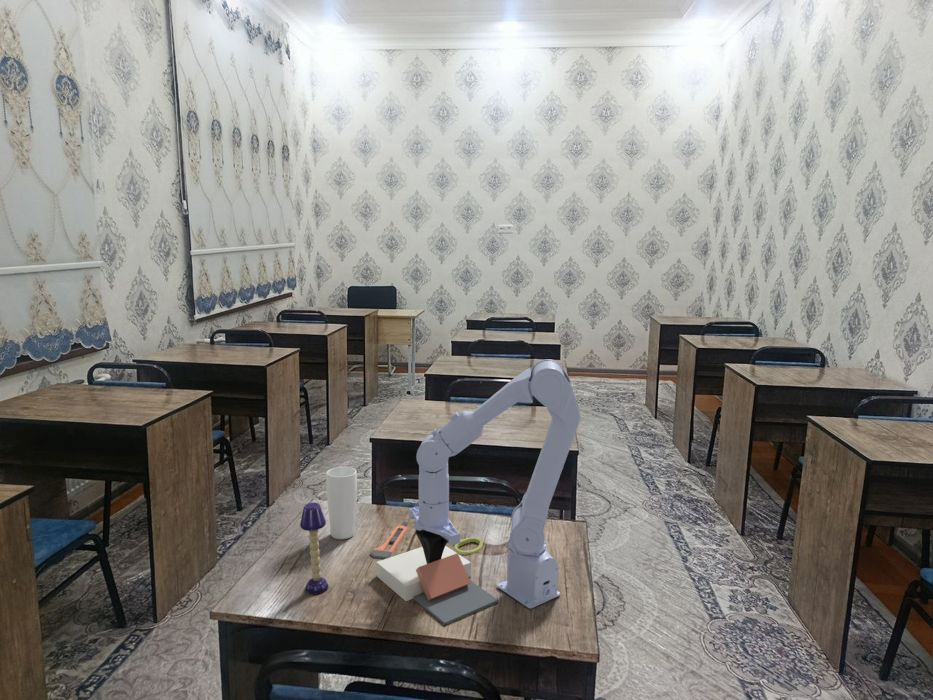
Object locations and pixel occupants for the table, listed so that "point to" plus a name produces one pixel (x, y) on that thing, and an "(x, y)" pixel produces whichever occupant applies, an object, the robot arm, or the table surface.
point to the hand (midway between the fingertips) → (433, 565)
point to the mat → (457, 603)
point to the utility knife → (394, 538)
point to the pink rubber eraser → (443, 576)
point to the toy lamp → (314, 545)
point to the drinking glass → (341, 501)
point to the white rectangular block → (409, 571)
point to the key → (466, 543)
